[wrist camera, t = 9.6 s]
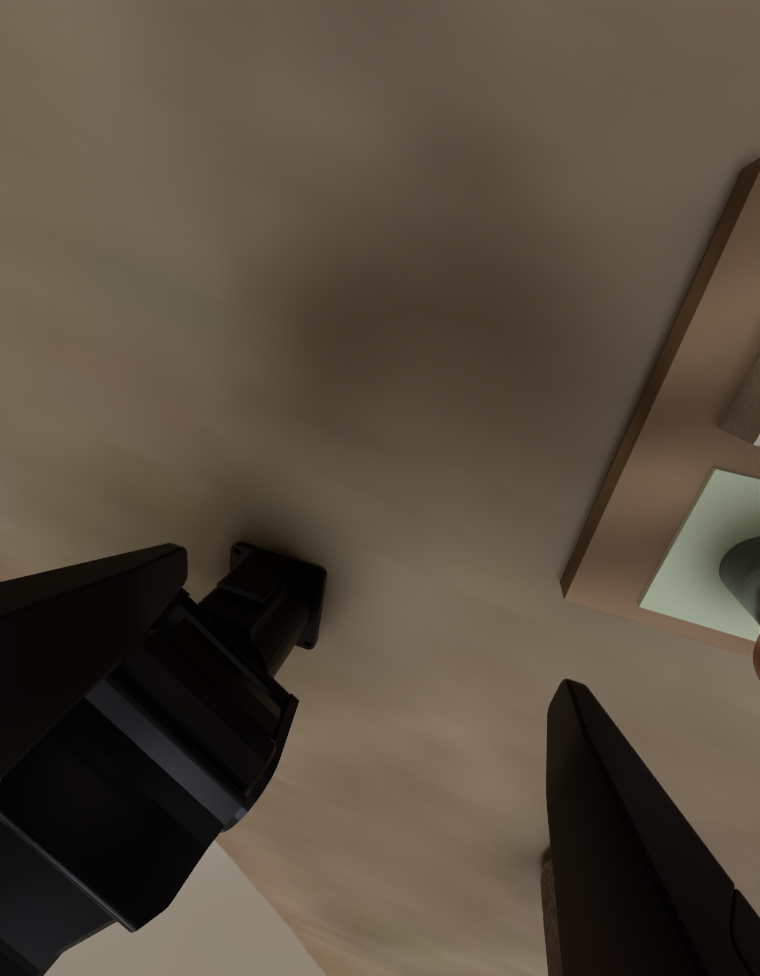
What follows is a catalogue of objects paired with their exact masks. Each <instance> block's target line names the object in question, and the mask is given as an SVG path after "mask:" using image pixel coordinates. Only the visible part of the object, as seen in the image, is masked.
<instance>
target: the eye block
mask: <svg viewBox="0 0 760 976" xmlns="http://www.w3.org/2000/svg"><path fill="white" fill-rule="evenodd" d="M718 429H720V430H722V431H724V432H726V433H729V434H731V435H733V436H735V437H737V438H740V439H742V440H744V441H746V442H748V443H751V444H753V445H757V446H760V350H759V352H758V353H757V355H756V357H755V359H754V361H753V363H752V365H751V367H750V368H749V370H748V372H747V374H746V376H745V378H744V380H743V381H742V383H741V385H740V387H739V389H738V391H737V393H736V395H735V396H734V398H733V400H732V402H731V404H730V406H729V408H728V410H727V411H726V413H725V415H724V417H723V419H722V421H721V423H720V424H719V426H718Z"/></svg>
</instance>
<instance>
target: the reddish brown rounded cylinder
mask: <svg viewBox="0 0 760 976" xmlns="http://www.w3.org/2000/svg"><path fill="white" fill-rule="evenodd" d="M719 576H720V579H721V581H722V583H723V584H724V585H725V586H726V588H727V589H728V590H729V591H730V592H731V593H732V594H733V596H734V597H735V598H736V599H737V600H738V601H739V602H740V604H741V605H742V606H743V607H744V608H745V609H746V610H747V612H748V613H749V614H750V615H751V616H752V617H753V618H754V620H755V621H756V622H757V623H758V624H759V625H760V537H754V538H751V539H748V540H745V541H743V542H741V543H739V544H737V545H735V546H734V547H732V548H731V549H730V550H729V551H728V552H727V553H726V554H725V555H724V557H723V558H722V560H721V563H720V566H719ZM753 664H754V669H755V671H756V674H757V676H758V678H759V680H760V634H759V636H758V638H757V641H756V643H755V646H754V651H753Z"/></svg>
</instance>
